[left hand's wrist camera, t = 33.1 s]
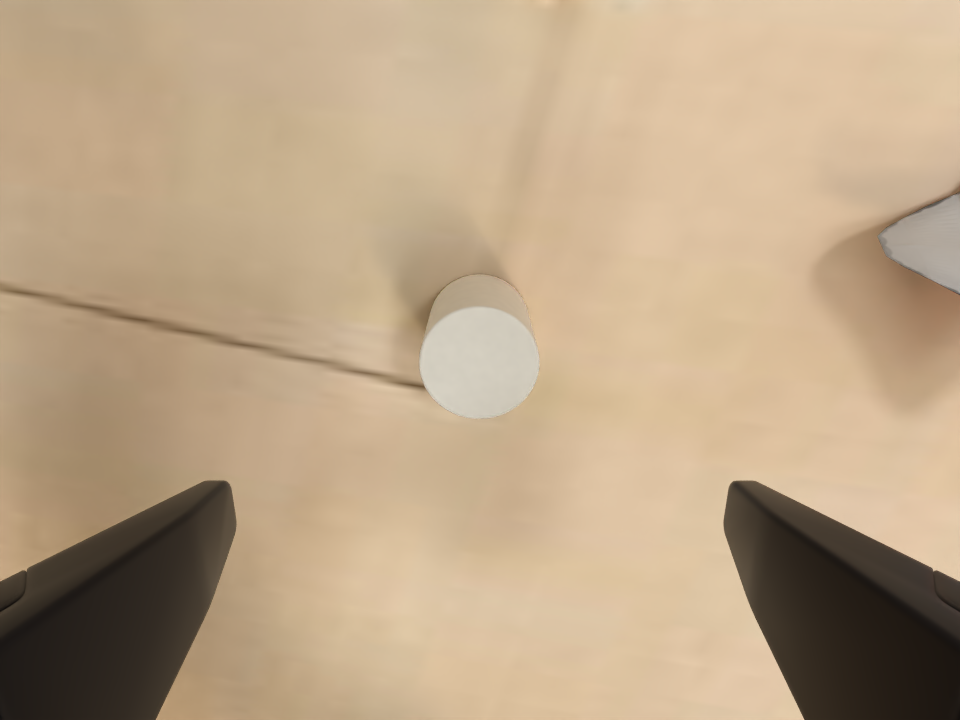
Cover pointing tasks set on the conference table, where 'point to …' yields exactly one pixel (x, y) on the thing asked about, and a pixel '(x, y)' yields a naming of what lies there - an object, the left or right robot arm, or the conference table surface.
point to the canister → (479, 348)
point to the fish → (928, 242)
